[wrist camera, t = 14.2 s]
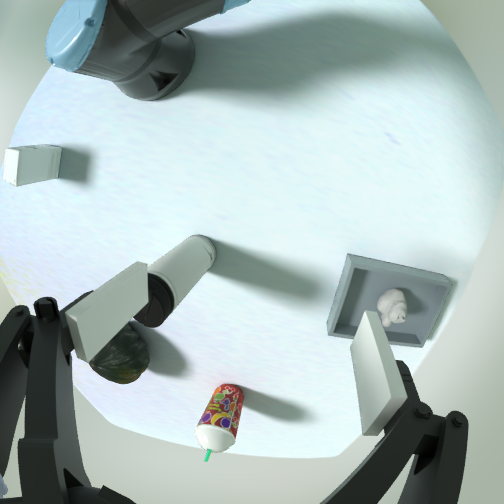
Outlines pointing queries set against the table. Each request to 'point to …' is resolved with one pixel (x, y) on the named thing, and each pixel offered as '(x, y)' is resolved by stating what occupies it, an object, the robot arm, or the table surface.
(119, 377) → the squash
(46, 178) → the supplement box
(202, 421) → the smoothie
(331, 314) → the bin
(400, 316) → the white animal figurine
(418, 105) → the table surface
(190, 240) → the travel mug
